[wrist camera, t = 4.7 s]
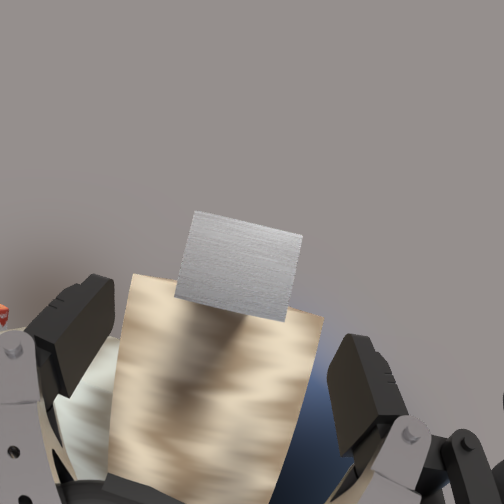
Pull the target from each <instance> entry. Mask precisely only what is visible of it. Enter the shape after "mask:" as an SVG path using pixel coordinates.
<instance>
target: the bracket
mask: <svg viewBox="0 0 504 504" xmlns="http://www.w3.org/2000/svg"><path fill="white" fill-rule="evenodd" d="M302 238H303V235H299V234H295V233H291V232H287V231H283V230H279V229H274V228H270V227H266V226H262V225H258V224H254V223H249V222H245V221H240V220H237V219H232V218H228V217H224V216H219V215H215V214H210V213H205V212H201V211H197V210H195V213H194V217H193V220H192V225H191V228H190V232H189V236H188V240H187V244H186V248H185V252H184V256H183V260H182V264H181V268H180V272H179V277H178V281H177V285H176V290H175V294H174V298H178V299H182V300H186V301H190V302H194V303H198V304H202V305H207V306H211V307H215V308H219V309H224V310H228V311H232V312H237V313H241V314H246V315H251V316H255V317H260V318H265V319H270V320H275V321H280V322H285V318H286V314H287V309H288V305H289V300H290V295H291V291H292V286H293V282H294V277H295V272H296V268H297V263H298V258H299V253H300V248H301V243H302Z"/></svg>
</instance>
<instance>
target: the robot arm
mask: <svg viewBox="0 0 504 504" xmlns="http://www.w3.org/2000/svg"><path fill="white" fill-rule="evenodd" d="M114 306H115V304H114V281H113V280H112V279H110V278H106V277H103V276H100V275H96V274H91V275H90V276H89V277H88V278H87V279H86V280H85V281H84V282H83V283H82V284H81V285H80V284H74V285H72V286H70V287H68V288H66V289H64V290H63V291H62V292H61V293H60V294H59V295H58V296H57V297H56V299H54V300H53V301H52V302H51V303H50V304H49V306H47V307H46V308H45V309H44V310H43V311H42V312H41V313H40V314H39V315H38V316H37V317H36V318H35V319H34V320H33V321H32V322H31V323H30V324H29V325H28V326H27V327H26V328H25V330H24V331H19V330H11V331H7V332H4V333H2V334H0V504H186V503H184V502H181V501H179V500H177V499H175V498H173V497H171V496H168V495H166V494H164V493H162V492H160V491H158V490H156V489H154V488H153V487H151V486H148V485H144V484H141V483H138V482H134V481H131V480H128V479H125V478H122V477H120V476H117V475H114V474H111V473H109V472H108V473H107V476H106V479H105V481H104V480H90V479H89V480H78V479H77V476H76V474H75V471H74V469H73V466H72V464H71V462H70V460H69V457H68V454H67V451H66V448H65V445H64V441H63V437H62V433H61V429H60V425H59V421H58V417H57V412H56V407H55V403H54V400H55V398H56V397H57V395H58V394H60V395H62V396H64V397H66V398H69V399H70V397H71V396H72V394H73V392H74V391H75V389H76V387H77V385H78V384H79V382H80V380H81V379H82V377H83V376H84V374H85V372H86V371H87V369H88V367H89V366H90V364H91V363H92V361H93V359H94V358H95V356H96V355H97V353H98V351H99V350H100V348H101V347H102V345H103V344H104V342H105V341H106V339H107V337H108V336H109V334H110V333H111V330H112V328H113V325H114V319H115V307H114ZM395 383H396V381H395V379H394V377H393V375H392V372H391V369H390V367H389V365H388V363H387V361H386V360H385V359H384V358H383V357H382V356H381V355H380V353H379V352H375V349H374V347H373V345H372V342H371V340H370V338H369V337H368V336H361V335H356V334H347V335H345V337H344V338H343V340H342V342H341V344H340V346H339V349H338V350H337V352H336V354H335V356H334V358H333V360H332V362H331V363H330V365H329V368H328V372H327V384H328V389H329V394H330V400H331V405H332V411H333V416H334V421H335V427H336V432H337V439H338V444H339V450H340V456H341V457H354V462H355V463H354V464H353V465H352V466H351V467H350V468H349V470H348V471H347V473H346V474H345V476H344V477H343V479H342V480H341V482H340V483H339V484H338V486H337V487H336V489H335V490H334V492H333V493H332V494H331V496H330V497H329V498H328V500H327V501H326V502H325V504H445V500H444V496H443V491H442V488H443V487H444V486H446V485H447V484H448V483H450V484H451V488H452V492H453V495H454V500H455V503H456V504H504V460H503V461H501V462H500V463H498V464H497V465H496V466H495V467H494V468H493V469H492V470H491V469H490V466H489V463H488V461H487V458H486V456H485V453H484V450H483V448H482V445H481V443H480V441H479V439H478V438H477V436H476V435H475V434H473V433H472V432H471V431H469V430H466V429H459V430H457V431H455V432H454V433H453V434H452V435H451V436H450V437H449V438H443V437H439V436H434V435H431V433H430V430H429V429H428V427H427V426H426V424H425V423H424V422H423V421H421V420H420V419H418V418H416V417H414V416H409V414H408V411H407V409H406V406H405V404H404V401H403V398H402V396H401V394H400V391H399V389H398V386H397V384H395ZM503 408H504V395H503Z"/></svg>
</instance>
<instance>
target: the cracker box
mask: <svg viewBox="0 0 504 504" xmlns="http://www.w3.org/2000/svg"><path fill="white" fill-rule="evenodd" d="M8 312H9V309H8V308H7V307H5V306H4V305H1V304H0V331H5V330H7V320H8Z"/></svg>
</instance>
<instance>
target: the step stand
mask: <svg viewBox="0 0 504 504" xmlns="http://www.w3.org/2000/svg"><path fill="white" fill-rule="evenodd" d="M176 285H177V281H176V280H172V279H164V278H158V277H151V276H144V275H138V274H133V278H132V282H131V286H130V291H129V296H128V301H127V306H126V311H125V316H124V322H123V327H122V333H121V338H120V339H117V338H114V337H110V336H108V337H107V339H106V341H105V342H104V344H103V345H102V347H101V348H100V350H99V351H98V353H97V355H96V356H95V358H94V359H93V361H92V363H91V364H90V366H89V367H88V369H87V371H86V372H85V374H84V376H83V377H82V379H81V380H80V382H79V384H78V385H77V387H76V389H75V391H74V392H73V394H72V396H71V397H70V399H69V398H66V397H64V396H62V395H60V394H58V395H57V397H56V398H55V400H54V403H55V407H56V412H57V417H58V421H59V425H60V429H61V433H62V437H63V441H64V445H65V448H66V451H67V454H68V457H69V460H70V462H71V464H72V466H73V469H74V471H75V474H76V476H77V479H78V480H89V479H90V480H104V481H105V479H106V476H107V473H108V472H109V473H111V474H114V475H117V476H120V477H122V478H125V479H128V480H131V481H134V482H138V483H141V484H144V485H148V486H151V487H153V488H154V489H156V490H158V491H160V492H162V493H164V494H166V495H168V496H171V497H173V498H175V499H177V500H179V501H181V502H184V503H186V504H268V503H269V501H270V498H271V496H272V493H273V490H274V488H275V485H276V482H277V480H278V477H279V474H280V471H281V468H282V465H283V463H284V460H285V457H286V454H287V451H288V447H289V445H290V441H291V439H292V436H293V432H294V429H295V426H296V423H297V419H298V416H299V413H300V409H301V406H302V403H303V399H304V396H305V392H306V388H307V385H308V381H309V378H310V374H311V370H312V366H313V362H314V358H315V354H316V351H317V346H318V342H319V338H320V334H321V330H322V325H323V321H324V317H321V316H317V315H314V314H311V313H307V312H304V311H301V310H297V309H294V308H291V307H288V309H287V314H286V318H285V322H280V321H275V320H270V319H265V318H260V317H255V316H251V315H246V314H241V313H237V312H232V311H228V310H224V309H219V308H215V307H211V306H207V305H202V304H198V303H194V302H190V301H186V300H182V299H178V298H174V294H175V290H176ZM25 328H26V327H23V328H17V329H11V330H19V331H24V330H25ZM11 330H5V331H0V334H2V333H4V332H7V331H11Z"/></svg>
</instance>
